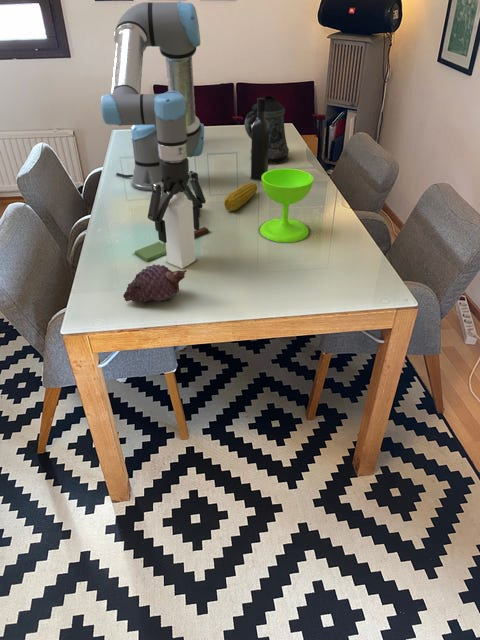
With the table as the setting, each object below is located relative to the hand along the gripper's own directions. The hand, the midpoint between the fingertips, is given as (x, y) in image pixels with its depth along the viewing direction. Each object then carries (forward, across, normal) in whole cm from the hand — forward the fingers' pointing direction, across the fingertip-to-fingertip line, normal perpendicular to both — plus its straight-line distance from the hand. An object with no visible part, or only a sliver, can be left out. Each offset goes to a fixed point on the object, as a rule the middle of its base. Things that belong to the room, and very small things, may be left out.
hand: (179, 234), depth 147 cm
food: (+9, +42, +19) cm, 47 cm away
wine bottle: (+9, +64, +32) cm, 72 cm away
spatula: (+9, +5, +10) cm, 14 cm away
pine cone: (+9, -16, -11) cm, 22 cm away
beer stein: (+9, +82, +45) cm, 94 cm away
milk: (+9, 0, 0) cm, 9 cm away
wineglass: (+9, +37, -7) cm, 39 cm away
